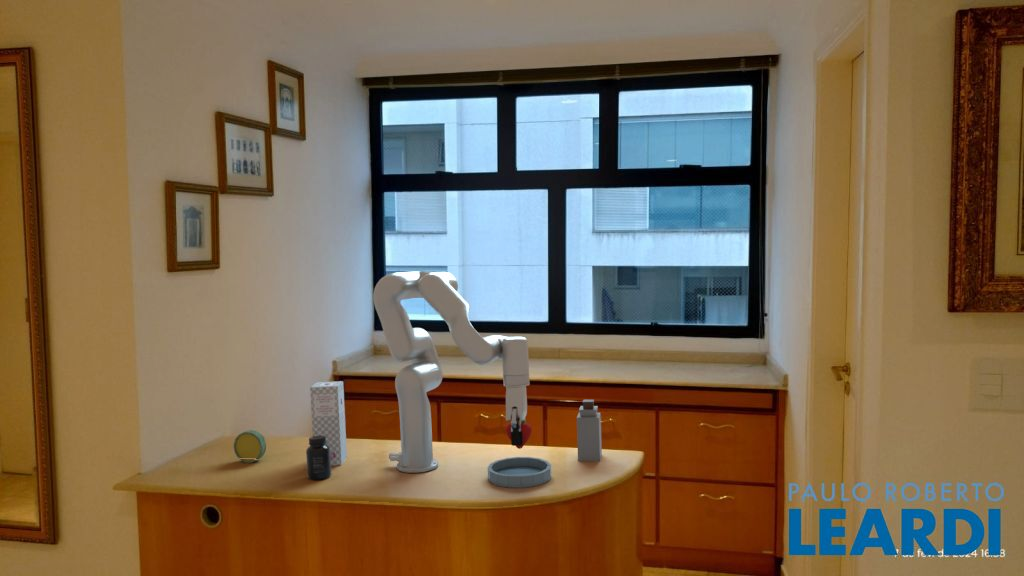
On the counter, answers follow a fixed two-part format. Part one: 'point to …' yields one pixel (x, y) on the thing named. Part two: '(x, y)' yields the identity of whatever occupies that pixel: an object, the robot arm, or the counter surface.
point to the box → (330, 417)
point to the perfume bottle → (589, 432)
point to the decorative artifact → (249, 446)
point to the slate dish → (519, 472)
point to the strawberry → (525, 432)
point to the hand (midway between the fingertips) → (519, 441)
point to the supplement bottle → (318, 458)
